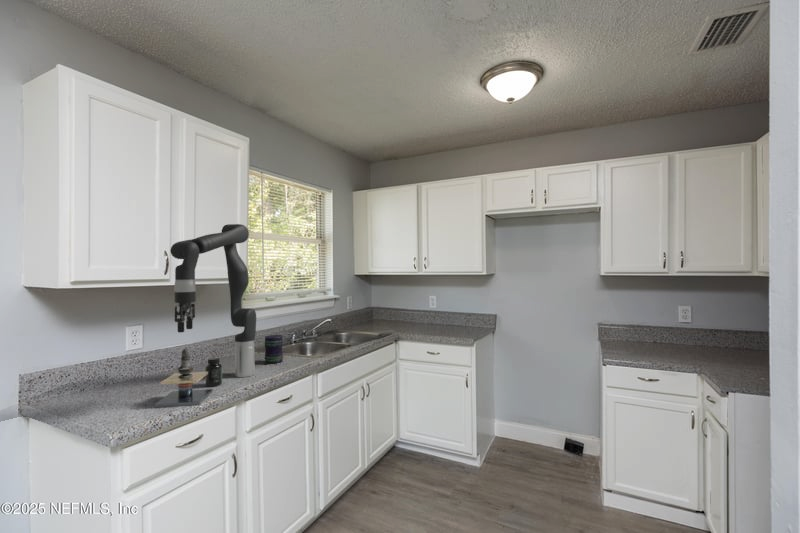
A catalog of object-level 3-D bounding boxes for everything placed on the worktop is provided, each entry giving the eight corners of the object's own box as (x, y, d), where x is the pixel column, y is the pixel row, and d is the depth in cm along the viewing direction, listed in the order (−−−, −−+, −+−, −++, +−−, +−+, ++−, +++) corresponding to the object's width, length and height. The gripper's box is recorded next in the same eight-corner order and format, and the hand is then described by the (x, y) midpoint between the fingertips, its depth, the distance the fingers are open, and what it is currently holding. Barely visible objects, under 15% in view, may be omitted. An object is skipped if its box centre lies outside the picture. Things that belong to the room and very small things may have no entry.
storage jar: (263, 361, 218) (263, 335, 218) (281, 360, 222) (281, 334, 222) (265, 365, 209) (265, 338, 209) (284, 363, 213) (284, 337, 213)
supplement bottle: (225, 382, 177) (224, 357, 177) (216, 387, 170) (216, 360, 170) (211, 382, 177) (211, 356, 178) (202, 387, 171) (202, 360, 171)
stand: (172, 394, 161) (172, 372, 161) (212, 391, 163) (212, 370, 164) (154, 407, 145) (154, 383, 145) (199, 404, 148) (199, 381, 148)
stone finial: (196, 374, 158) (196, 345, 158) (189, 378, 152) (189, 348, 152) (182, 374, 157) (182, 345, 158) (174, 378, 152) (174, 348, 152)
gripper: (188, 291, 148) (188, 333, 148) (201, 289, 162) (201, 327, 162) (167, 291, 147) (167, 333, 147) (182, 290, 161) (182, 328, 161)
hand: (185, 330), depth 155 cm, fingers open, 8 cm apart
